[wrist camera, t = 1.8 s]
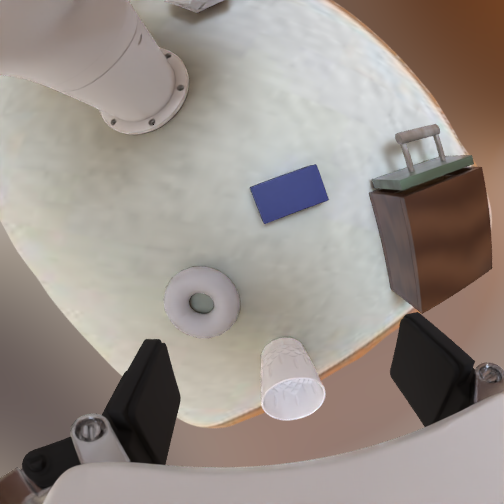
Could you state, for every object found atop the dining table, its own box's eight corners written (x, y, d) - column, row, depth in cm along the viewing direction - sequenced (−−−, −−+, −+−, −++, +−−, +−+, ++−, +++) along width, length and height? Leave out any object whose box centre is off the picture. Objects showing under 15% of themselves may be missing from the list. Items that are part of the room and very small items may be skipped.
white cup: (317, 358, 39) (335, 402, 30) (273, 381, 40) (281, 427, 31) (293, 323, 38) (308, 366, 28) (246, 350, 38) (248, 396, 29)
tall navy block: (262, 220, 34) (264, 224, 31) (249, 187, 33) (250, 187, 30) (321, 198, 33) (328, 200, 31) (309, 165, 32) (316, 164, 29)
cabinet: (368, 192, 33) (403, 197, 25) (442, 166, 33) (481, 166, 24) (390, 288, 37) (422, 314, 29) (457, 253, 36) (492, 268, 28)
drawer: (359, 143, 31) (385, 136, 24) (431, 124, 30) (461, 118, 23) (394, 272, 35) (420, 289, 29) (457, 239, 35) (485, 250, 28)
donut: (255, 296, 36) (199, 246, 34) (257, 308, 33) (195, 254, 31) (207, 341, 38) (152, 298, 36) (204, 355, 35) (145, 309, 32)
